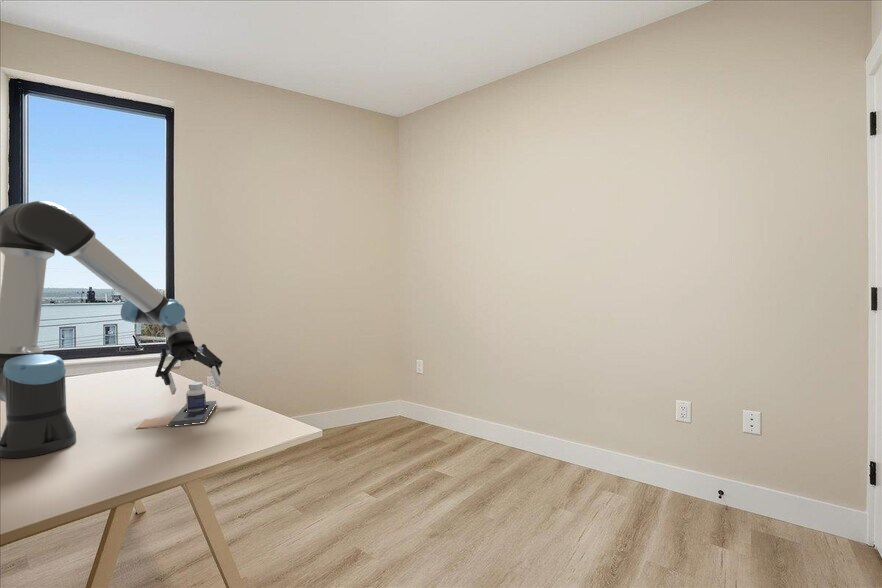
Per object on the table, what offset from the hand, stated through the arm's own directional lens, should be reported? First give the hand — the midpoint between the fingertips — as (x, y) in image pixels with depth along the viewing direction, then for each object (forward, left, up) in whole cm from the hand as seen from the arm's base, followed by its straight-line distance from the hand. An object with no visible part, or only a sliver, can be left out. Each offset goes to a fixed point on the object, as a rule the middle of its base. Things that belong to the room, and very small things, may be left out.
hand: (197, 388), depth 148 cm
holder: (-5, 0, -8) cm, 9 cm away
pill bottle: (-3, 0, -8) cm, 8 cm away
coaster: (-10, +9, -8) cm, 16 cm away
